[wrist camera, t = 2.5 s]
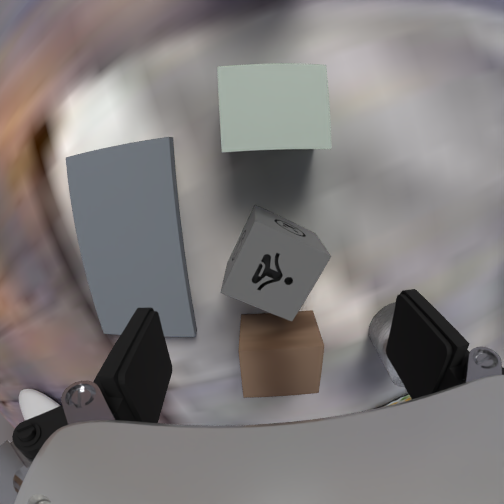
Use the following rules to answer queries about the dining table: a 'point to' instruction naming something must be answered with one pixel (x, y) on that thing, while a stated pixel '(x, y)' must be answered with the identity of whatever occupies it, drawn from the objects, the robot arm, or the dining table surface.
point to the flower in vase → (35, 403)
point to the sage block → (274, 107)
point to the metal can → (384, 338)
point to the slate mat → (132, 234)
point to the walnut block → (280, 355)
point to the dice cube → (274, 264)
